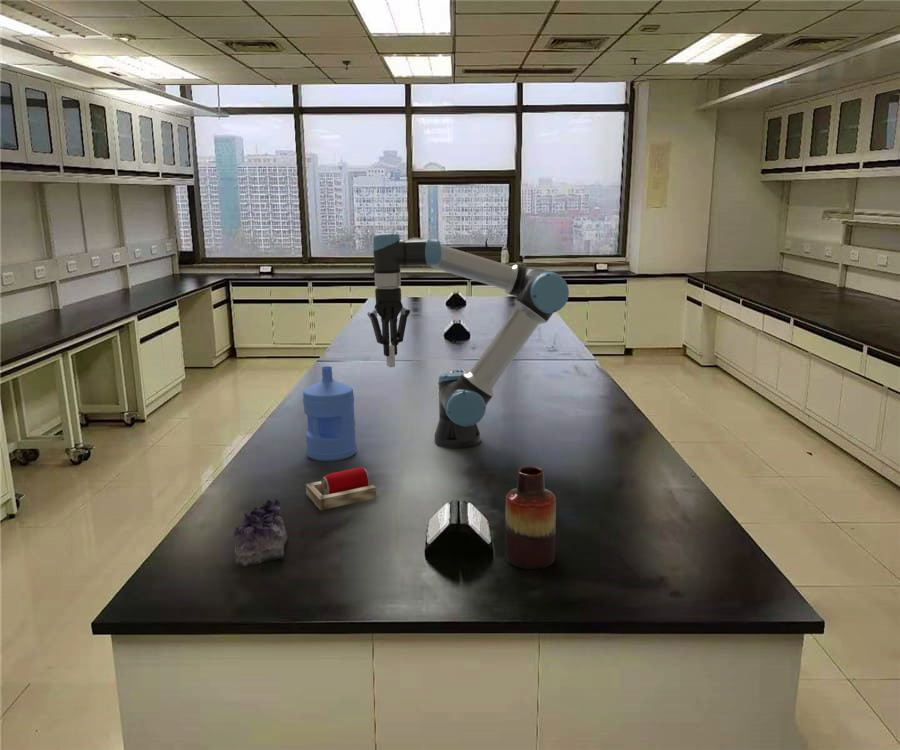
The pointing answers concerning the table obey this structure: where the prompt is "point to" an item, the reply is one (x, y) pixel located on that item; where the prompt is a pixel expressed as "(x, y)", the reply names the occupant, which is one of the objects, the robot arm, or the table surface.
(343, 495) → the u rest
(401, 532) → the table surface
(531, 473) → the vase
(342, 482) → the beverage can
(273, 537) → the geode
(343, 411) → the water jug
